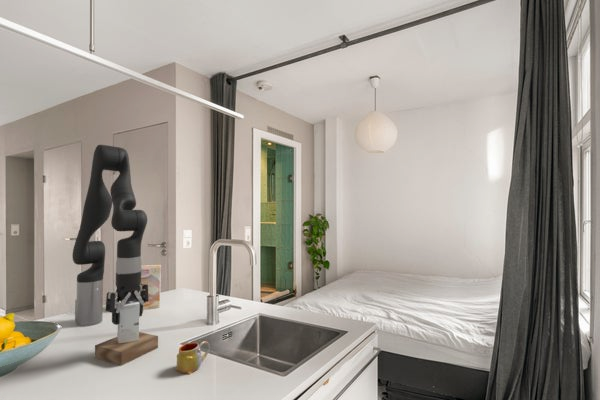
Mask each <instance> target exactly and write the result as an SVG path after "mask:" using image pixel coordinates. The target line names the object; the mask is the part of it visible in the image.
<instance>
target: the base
mask: <svg viewBox="0 0 600 400" xmlns="http://www.w3.org/2000/svg"><path fill="white" fill-rule="evenodd" d="M157 349H159V336H158V335H157V334H151V333H147V332H146V333H145V332H142V331H139V339H138V340H137V341H132V342H126V343H120V344H118V340H117V336H115V337H113V338H110V339H107V340H105V341H103V342H100V343H97V344H95V345H94V358H95V359H97V360H100V361H104V362H108V363H111V364H114V365H117V366H123V365H125V364H127V363H129V362H132V361H134V360H136V359H139V358H140V357H142V356H144V355H146V354H149V353H151V352H152V351H154V350H157Z"/></svg>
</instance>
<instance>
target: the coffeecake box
mask: <svg viewBox="0 0 600 400" xmlns="http://www.w3.org/2000/svg"><path fill="white" fill-rule="evenodd" d="M161 268H162V265H161V264H148V265H141V284H147V285H148V301H147V302H145V303H144V304H143V310H151V309H159V308H160V307H161V279H162V278H161V272H162V269H161ZM141 284H140V285H141ZM139 295H140V291H139ZM144 298H145V296H144ZM130 302H131V301H130Z"/></svg>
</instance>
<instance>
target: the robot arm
mask: <svg viewBox="0 0 600 400" xmlns="http://www.w3.org/2000/svg"><path fill="white" fill-rule="evenodd" d="M92 157H93V158H92V164H91V170H90V171H91V172H90V180H89V184H88V188H87V191H86V192H87V193H86V198H85V200H84V205H83V209H82V216H81V221H80V225H79V229H78V232H77V235H76V239H75V243H74V246H73V249H72V261H73V263H74V264H75V265H78V266H83V265H91V266H90V267H89V268H87V269H86V270H84V271H81V272H80V273H78V274H77V276H76V299H75V301H74V303H75V304H74V306H75V307H74V323H75V324H76V326H78V327H79V326H80V327H82V326H83V327H85V326H86V327H87V326H88V327H89V326H93V325H96V324H99V323H101V322H102V321H103V313H104V311H103V310H104V308H103V307H104V274H105V261H106V260H105V259H106V246H105V244H104V242H103V241H102V240H91V238H92V236H93V235H94V234H95V233H96V232H97V231H98V229H100V228H101V227H102V226H103V225H104V224H105V223H106V222H107V221H108V219H109V217H110V215H111V211H112V216H111V221H110V222H111V227H112V229H114V230H115V231H117V232H132V234H131V236H128V237H124V238H121V239H118V241H117V243H116V244H117V246H116V262H115V287H116V290H115V291H114V292H112V291H111V292H110V291H108V292H107V293H106V300H105V312H107V313H111V322H112V324H113V325H115V326H118V324H120V313H119V311H120V309H121V308H122V306H124V304H125V303H128V302H130V301H138V302H139V303H140V312H139V318H140V317H142V316H143V312H144V309H143V304H144V303H145V302H147V301H148V285H147V284H141V266H142V254H141V253H142V241H143V237H144V234H145V230H146V228H147V223H148V215H147V213H146V212H145V211H144V210H142V209H135V208H136V206H137V201H136V197H135V193H134V190H133V186H132V176H131V166H130V158H129V153H128V151H127V149H125V148H124V147H119V146H118V147H117V146H112V145H106V144H98V145H97V146H96V147H95V149H94V152H93V156H92ZM104 171H111V172H119V174H118V176H117V177H116V179H114V181H113V183H112V184H111V187H110V192H109V191H108V189H107V187H106V184H105V182H104V178H103V173H104ZM112 206H113V209H112ZM140 284H141V285H140ZM139 291H140V295H139ZM144 296H145V298H144Z"/></svg>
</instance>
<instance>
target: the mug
mask: <svg viewBox="0 0 600 400" xmlns="http://www.w3.org/2000/svg"><path fill="white" fill-rule="evenodd" d="M204 344H205V345H206V351H205V352H204V354H202V350H201V347H202V346H203V345H204ZM210 349H211V345H210V343H209V342H208V341H206V340H204V341H201V342H200V343H198V342H187V343H184V344H182V345H181V346H180V347H179V349H178V353H177V354H176V369H175V370H176V372H177V371H179V372H180V373H182V374H187V375H191V374H192V373H194V372H196V371H198V370H199V369H200V367H201V365H202V362H203V361H204V360H205V358H206V357H207V356H208V355H209V352H210Z"/></svg>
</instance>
